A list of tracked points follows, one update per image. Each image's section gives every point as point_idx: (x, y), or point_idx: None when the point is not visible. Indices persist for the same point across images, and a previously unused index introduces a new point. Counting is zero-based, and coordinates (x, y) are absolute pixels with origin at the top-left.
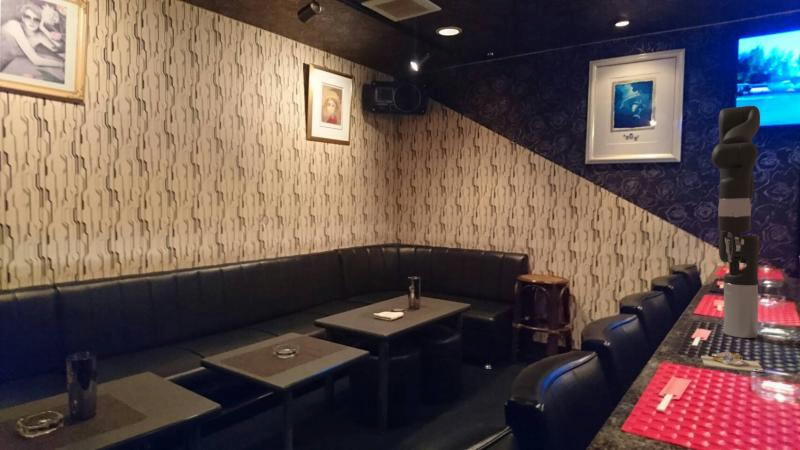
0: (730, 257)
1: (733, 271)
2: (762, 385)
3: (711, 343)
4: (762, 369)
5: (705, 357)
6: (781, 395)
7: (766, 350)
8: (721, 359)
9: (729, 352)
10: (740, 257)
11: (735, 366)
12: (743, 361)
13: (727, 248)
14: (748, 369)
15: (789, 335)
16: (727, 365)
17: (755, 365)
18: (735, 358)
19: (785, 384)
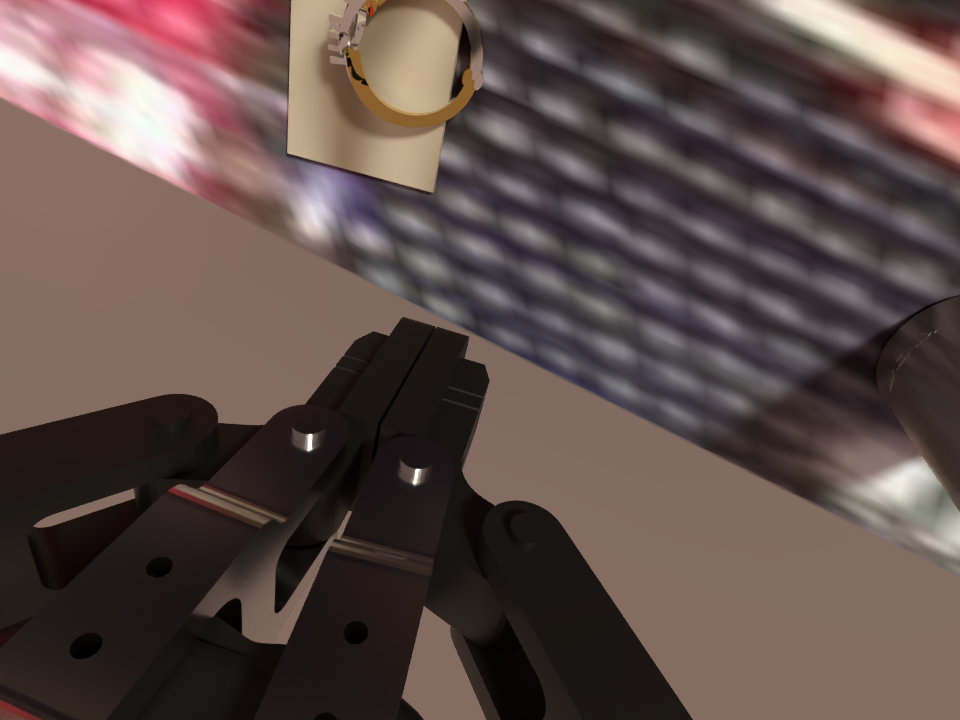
0: (235, 457)
1: (350, 355)
2: (118, 62)
3: (795, 120)
4: (313, 157)
5: None
6: (34, 81)
7: (649, 329)
8: (367, 4)
9: (340, 44)
10: (83, 517)
11: (321, 50)
12: (417, 130)
13: (191, 608)
14: (293, 94)
15: (904, 536)
16: (325, 14)
17: (367, 156)
18: (444, 106)
19: (173, 161)
